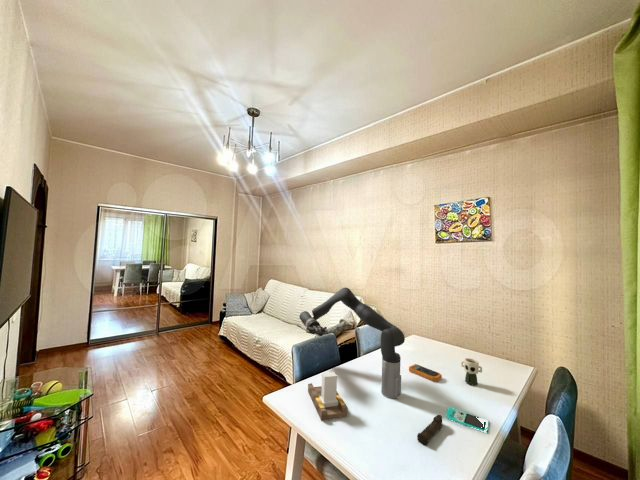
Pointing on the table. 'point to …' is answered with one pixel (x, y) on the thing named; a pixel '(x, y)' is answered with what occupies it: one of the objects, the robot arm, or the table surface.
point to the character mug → (471, 370)
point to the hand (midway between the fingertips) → (320, 334)
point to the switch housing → (327, 412)
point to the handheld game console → (465, 419)
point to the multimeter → (425, 373)
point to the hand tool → (430, 430)
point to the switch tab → (329, 389)
